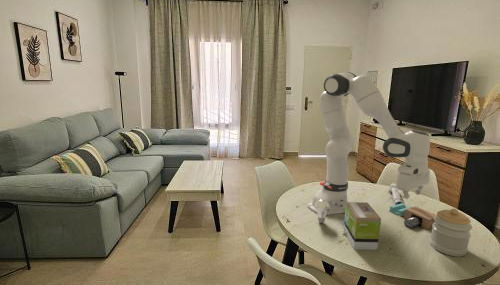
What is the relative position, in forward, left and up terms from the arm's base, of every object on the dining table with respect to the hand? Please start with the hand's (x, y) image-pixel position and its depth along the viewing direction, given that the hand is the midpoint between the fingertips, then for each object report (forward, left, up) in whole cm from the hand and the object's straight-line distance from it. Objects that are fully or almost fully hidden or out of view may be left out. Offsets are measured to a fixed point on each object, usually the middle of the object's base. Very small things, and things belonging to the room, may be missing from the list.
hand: (412, 196), depth 127 cm
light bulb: (-32, +23, -17) cm, 43 cm away
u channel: (+15, +14, -17) cm, 26 cm away
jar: (+2, -17, -17) cm, 24 cm away
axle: (+11, +2, -17) cm, 21 cm away
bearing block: (+13, +2, -17) cm, 22 cm away
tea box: (-27, +4, -17) cm, 32 cm away
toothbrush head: (+28, +27, -18) cm, 42 cm away
